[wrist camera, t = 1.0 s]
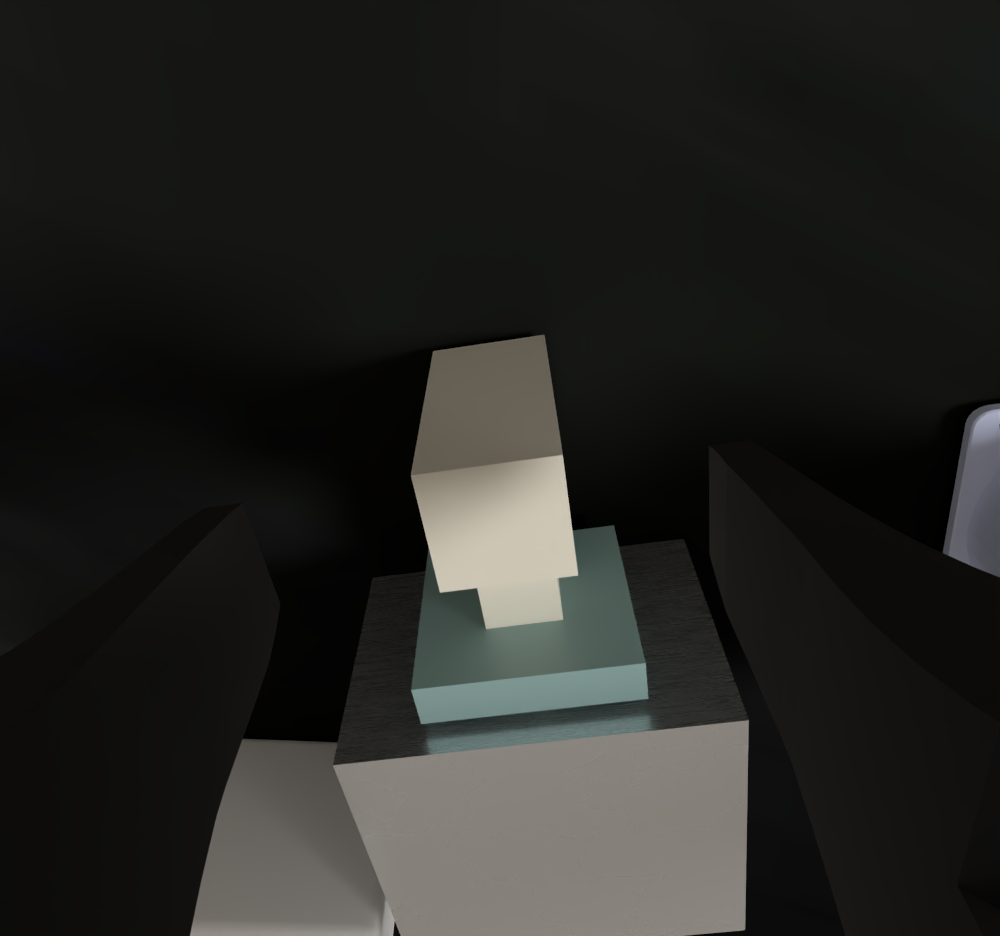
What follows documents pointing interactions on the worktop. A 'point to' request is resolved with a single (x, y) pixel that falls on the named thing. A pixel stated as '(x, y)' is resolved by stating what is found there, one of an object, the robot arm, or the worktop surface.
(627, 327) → the worktop surface
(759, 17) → the worktop surface
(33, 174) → the worktop surface
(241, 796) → the medicine bottle
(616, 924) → the block
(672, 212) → the worktop surface
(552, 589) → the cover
